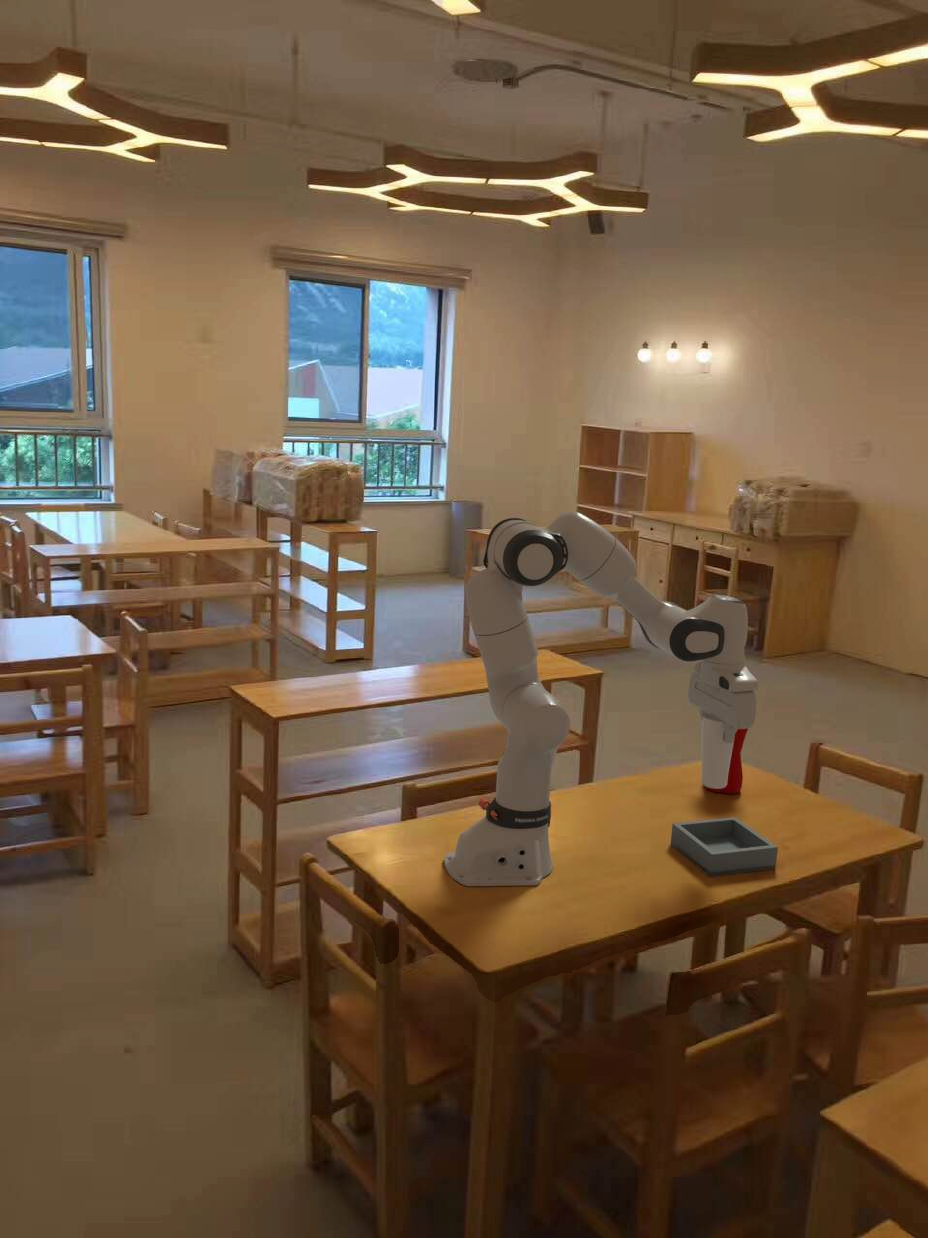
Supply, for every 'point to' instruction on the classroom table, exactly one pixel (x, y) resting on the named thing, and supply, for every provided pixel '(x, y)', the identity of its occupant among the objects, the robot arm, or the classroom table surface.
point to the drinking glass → (715, 752)
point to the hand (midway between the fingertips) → (717, 736)
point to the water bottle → (734, 766)
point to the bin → (723, 846)
